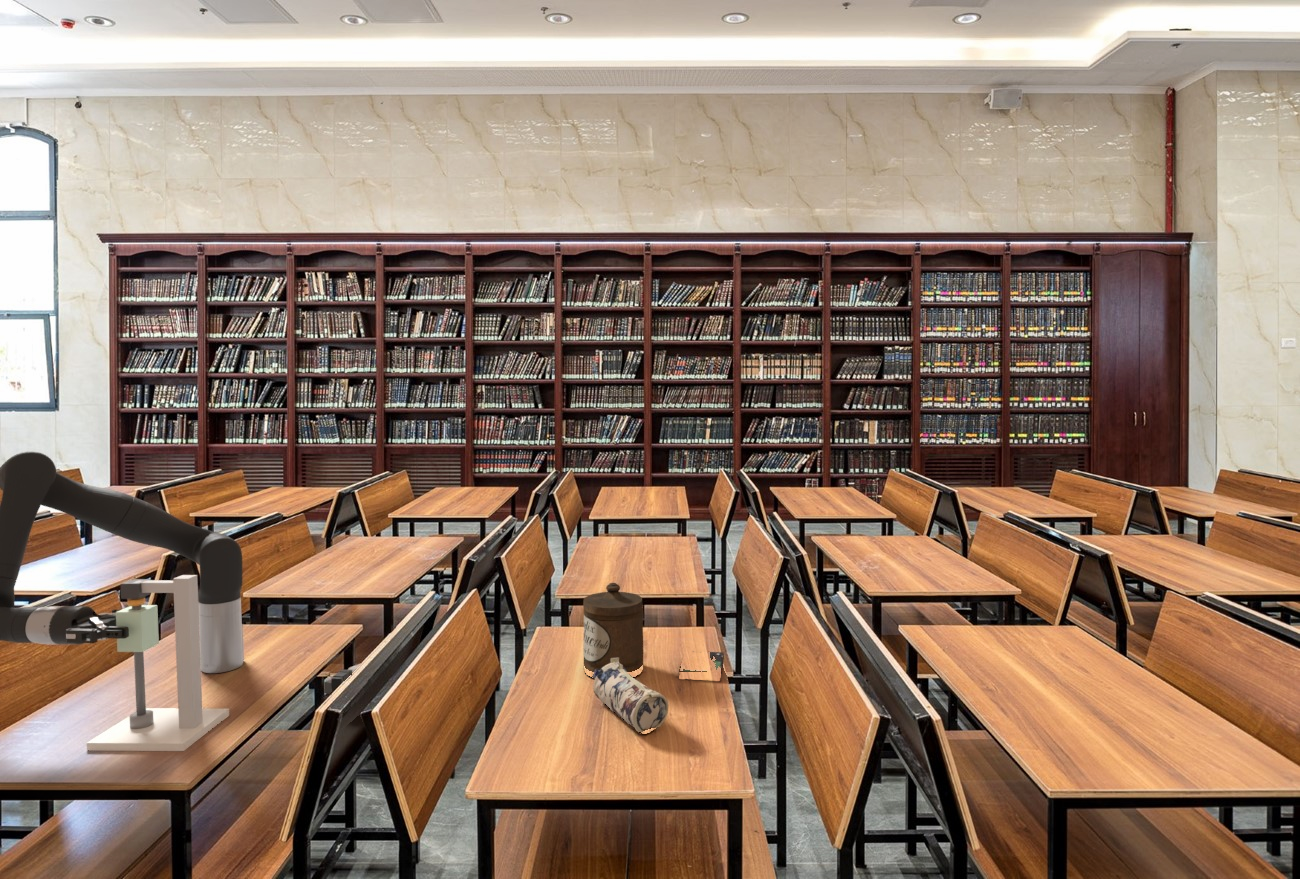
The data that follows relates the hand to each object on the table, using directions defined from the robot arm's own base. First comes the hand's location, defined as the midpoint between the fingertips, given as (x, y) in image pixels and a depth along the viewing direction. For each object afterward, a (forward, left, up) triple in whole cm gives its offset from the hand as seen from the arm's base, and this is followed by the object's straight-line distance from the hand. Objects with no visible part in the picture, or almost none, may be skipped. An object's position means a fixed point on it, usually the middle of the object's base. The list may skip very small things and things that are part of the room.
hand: (142, 625), depth 154 cm
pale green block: (0, -1, -4) cm, 5 cm away
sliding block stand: (0, +3, -22) cm, 22 cm away
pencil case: (-9, +98, -22) cm, 101 cm away
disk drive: (-36, +115, -23) cm, 123 cm away
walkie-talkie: (-27, +34, -23) cm, 49 cm away
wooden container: (-35, +93, -22) cm, 102 cm away
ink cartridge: (-12, +35, -22) cm, 43 cm away
